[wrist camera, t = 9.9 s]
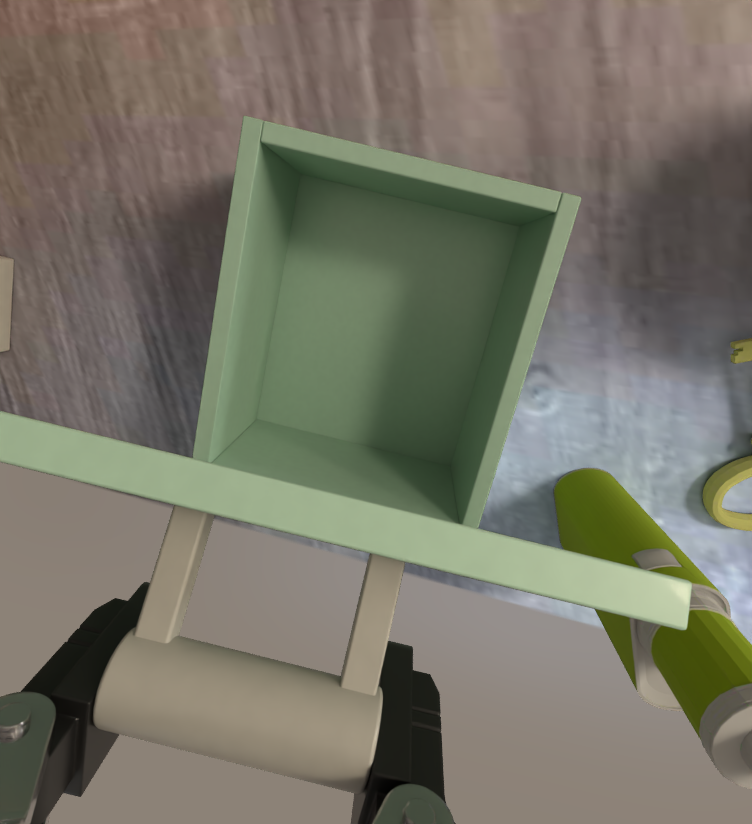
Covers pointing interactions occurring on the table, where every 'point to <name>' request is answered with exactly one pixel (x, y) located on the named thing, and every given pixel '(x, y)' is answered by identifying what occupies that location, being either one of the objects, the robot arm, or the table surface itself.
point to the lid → (275, 680)
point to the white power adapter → (5, 301)
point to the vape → (659, 645)
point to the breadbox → (375, 320)
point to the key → (730, 467)
